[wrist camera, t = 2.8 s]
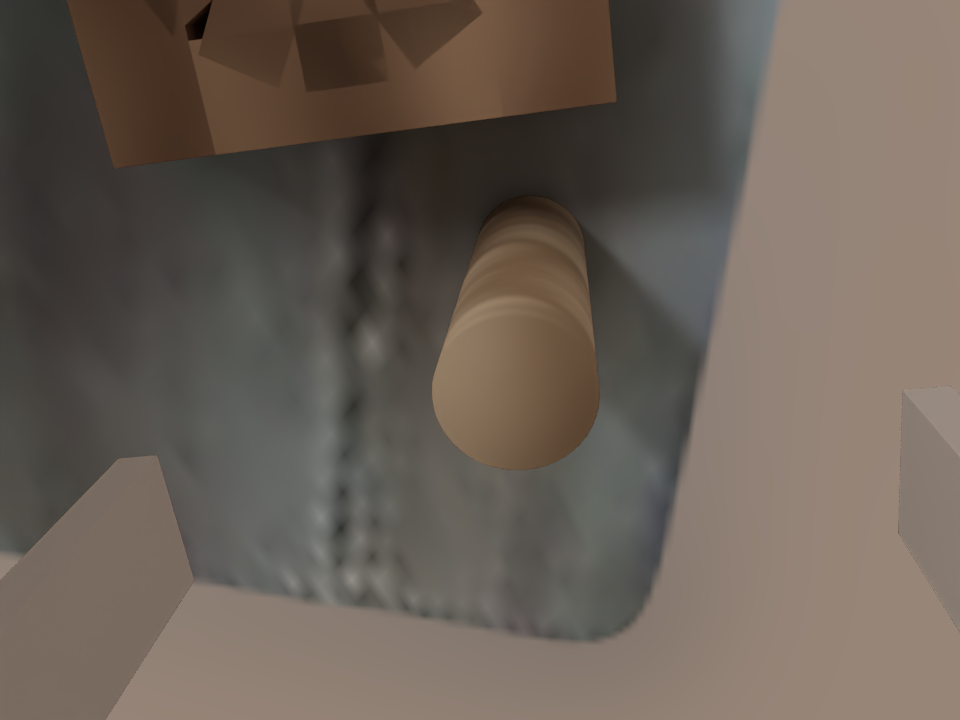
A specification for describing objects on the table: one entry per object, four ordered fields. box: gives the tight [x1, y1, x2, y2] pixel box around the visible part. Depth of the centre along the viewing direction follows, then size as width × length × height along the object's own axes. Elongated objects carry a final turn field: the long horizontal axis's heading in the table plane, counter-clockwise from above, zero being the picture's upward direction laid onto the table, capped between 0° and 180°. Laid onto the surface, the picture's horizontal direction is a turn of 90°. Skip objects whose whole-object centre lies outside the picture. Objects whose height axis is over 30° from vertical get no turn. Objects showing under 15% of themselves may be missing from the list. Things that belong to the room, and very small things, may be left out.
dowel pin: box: [432, 196, 600, 470], centre depth 25 cm, size 4×4×12 cm
